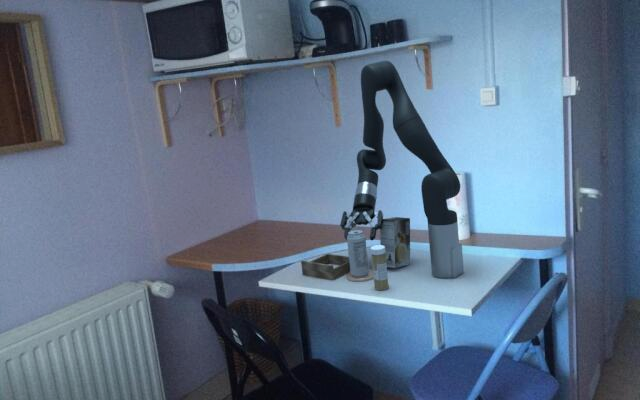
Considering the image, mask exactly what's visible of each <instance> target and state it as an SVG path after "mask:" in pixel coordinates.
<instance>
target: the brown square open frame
mask: <svg viewBox="0 0 640 400" xmlns="http://www.w3.org/2000/svg"><path fill="white" fill-rule="evenodd" d="M300 265H301V270H302V271H301V272H302V276H306V277H312V278H318V279H323V280H328V281H335V280H337V279H340V278H341V277H343V276H345V275H347V274H348V273H350V272H351V271H350V262H349V255H348V256H347V255H339V254H333V253H326V254H323V255H321V256H319V257H317V258H315V259H312V260H310V261H308V260H301V261H300ZM334 265H336V267H334Z"/></svg>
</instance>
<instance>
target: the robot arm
mask: <svg viewBox="0 0 640 400" xmlns="http://www.w3.org/2000/svg"><path fill="white" fill-rule="evenodd" d="M404 85H405V84H404V82H403V81H402V79H401V76H400V75H399V72H398V70H397V68H396V66H395V65H394V64H393V63H392V62H391V61H389V60H382V61H378V62H373V63H368V64H366V65H364V66H363V68H362V69H361V73H360V89H361V99H362V109H363V110H362V111H363V130H362V131H363V134H362V135H363V136H362V142H363V145H364V146H365V147H366V148H367V147H368V148H370V149H365V148H363V149H360V150H359V151H358V153H357V154H356V164H357V169H358V176H357V178H358V180H357V186H356V189H355V192H354V198H353V204H352V211H351V212H347V211H345V210H344V211H343V212H342V216H341V221H340V224H339V226H340V228H341V229H342V230H344V234H343V236H344V239H345V241H347V236H348V232H350V231H352V229H353V228H356V226H361V225H363V226H367V225H369V226H370V233H369V240H370V241H374V240H375V239H376V236H377V231H378V230H380V229H382V228H383V219H384V213H383V212H382V210H381V209H380V210H378V211H375V210H376V205H377V204H376V203H377V199H378V197H377V196H378V195H377V194H378V183H379V174H378V173H377V172H376V171H382V170H383V169H384V168H385V166H386V163H387V160H386V159H387V158H386V153H385V149H384V143H383V141H384V139H383V138H384V131H385V130H384V128H385V123H384V119H383V117H382V114H381V112H380V111H379V109H378V107H377V103H376V96H377V92H380V91H381V92H382V91H383V90H385V91H386V92H387V93H388V95H389V97H390V98H391V101H392V106H393V110H392V127H393V129H394V131H395V134H396V136H397V138H398V139H399V141H400V143H401V144H402V146H403V147H405V149H406V150H408V151H409V152H410V153H411V154H413V155H414V156H416V158H418V159H419V160H420V161H421V162H422V163H423V164H424V165H425V166H426V168H427V169H428V171H429V172H430V173H428V174H426V175H425V176H424V177H423V178H422V180H421V185H420V186H421V198H422V205H423V211H424V215H425V217H426V220H427V229H428V242H429V255H430V266H431V267H430V269H431V275H432V276H433V277H435V278H440V279H452V278H453V279H456V278H457V277H458V276H460V275H462V274H463V273H465V270H464V256H463V244H462V243H460V237H459V223H458V214H457V212H456V211H455V210H453V209H449V207H448V201H447V200H449V199H452V198H455V197H456V196H458V195H459V193H460V191H461V182H460V179H459V176H458V175H457V173H456V171H455V170H454V169H453V166H451V164H450V163H449V162H448V161H447V159H446V157H445V156H444V154H442V152H441V151H440V149H439V147H438V145H437V143H436V142H435V141H434V139H433V137H432V135H431V134H430V131H429V130H428V128H427V126H426V124H425V122H424V120H423V119H422V117H421V116H420V114H419V112H418V111H417V109H416V107H415V105H414V104H413V101H412V99H411V98H410V96H409V95H408V92H407V90H406V88H405V86H404ZM375 217H376V218H377V222H376V224H375V223H374V221H373V220H374V218H375Z"/></svg>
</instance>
